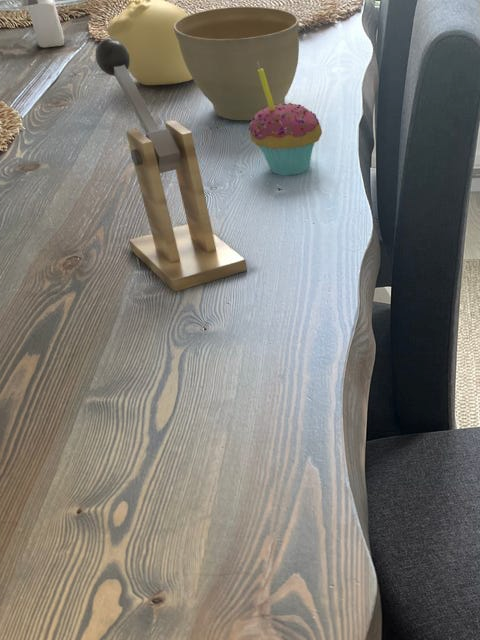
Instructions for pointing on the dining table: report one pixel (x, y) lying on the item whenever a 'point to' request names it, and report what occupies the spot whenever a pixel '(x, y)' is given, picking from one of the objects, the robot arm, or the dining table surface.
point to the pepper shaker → (46, 23)
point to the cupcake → (284, 134)
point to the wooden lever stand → (187, 240)
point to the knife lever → (137, 102)
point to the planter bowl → (240, 56)
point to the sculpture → (151, 41)
